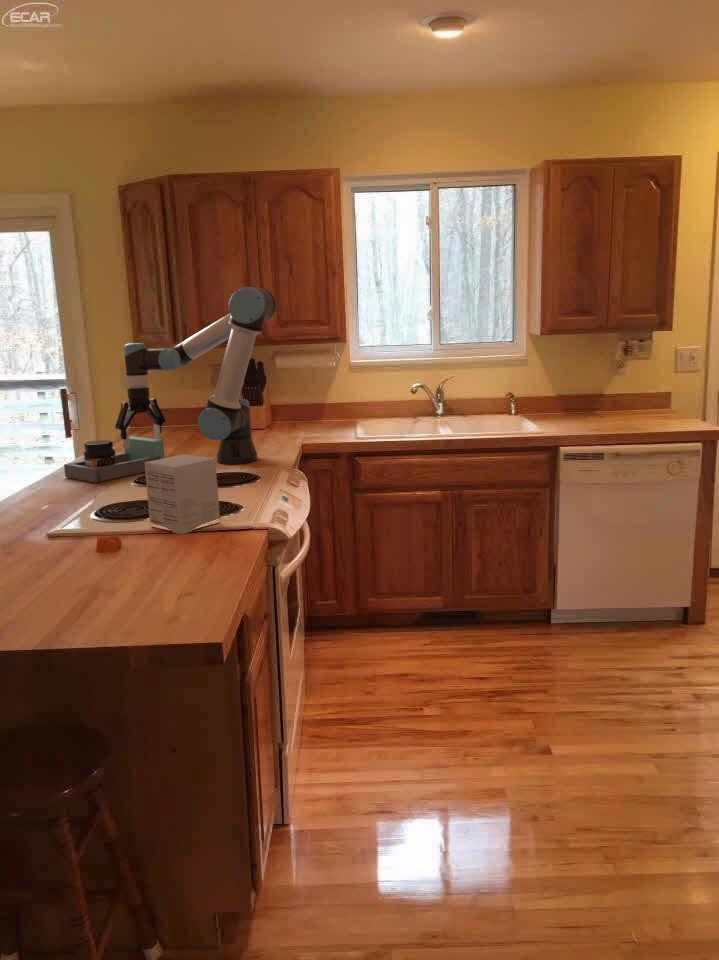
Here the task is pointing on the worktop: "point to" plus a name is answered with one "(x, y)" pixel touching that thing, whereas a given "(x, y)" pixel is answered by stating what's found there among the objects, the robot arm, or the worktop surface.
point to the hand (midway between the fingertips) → (142, 445)
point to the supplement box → (182, 492)
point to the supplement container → (99, 453)
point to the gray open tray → (120, 462)
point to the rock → (108, 543)
